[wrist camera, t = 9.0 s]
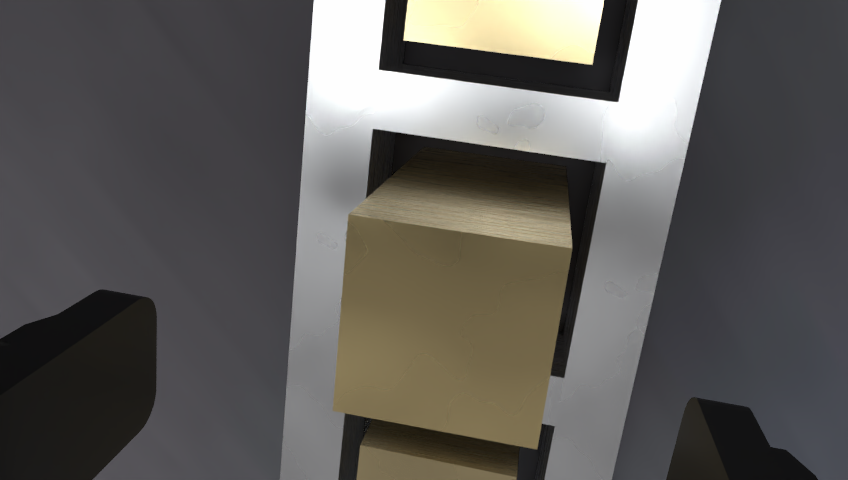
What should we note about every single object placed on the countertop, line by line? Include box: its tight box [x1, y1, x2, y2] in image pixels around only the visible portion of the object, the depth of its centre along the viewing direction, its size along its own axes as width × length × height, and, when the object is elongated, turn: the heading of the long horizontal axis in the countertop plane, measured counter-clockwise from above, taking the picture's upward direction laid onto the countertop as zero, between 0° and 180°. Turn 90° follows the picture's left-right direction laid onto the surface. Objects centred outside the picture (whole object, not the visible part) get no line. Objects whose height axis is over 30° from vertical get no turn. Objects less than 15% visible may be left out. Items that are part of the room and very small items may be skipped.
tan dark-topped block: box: [333, 147, 572, 449], centre depth 17 cm, size 4×4×8 cm
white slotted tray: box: [280, 0, 721, 480], centre depth 19 cm, size 22×9×4 cm, turn 173°
